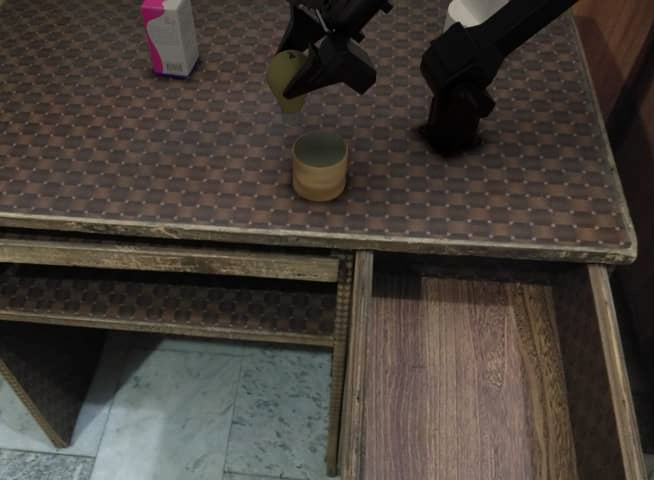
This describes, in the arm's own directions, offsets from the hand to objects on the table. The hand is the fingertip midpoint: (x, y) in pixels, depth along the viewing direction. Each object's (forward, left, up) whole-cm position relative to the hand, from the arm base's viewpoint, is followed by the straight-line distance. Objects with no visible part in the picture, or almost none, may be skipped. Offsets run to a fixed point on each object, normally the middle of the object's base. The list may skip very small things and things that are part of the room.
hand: (279, 81), depth 75 cm
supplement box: (+29, +5, -14) cm, 32 cm away
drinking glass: (+10, -38, -14) cm, 41 cm away
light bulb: (0, -1, -7) cm, 7 cm away
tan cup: (-5, -3, -14) cm, 15 cm away
